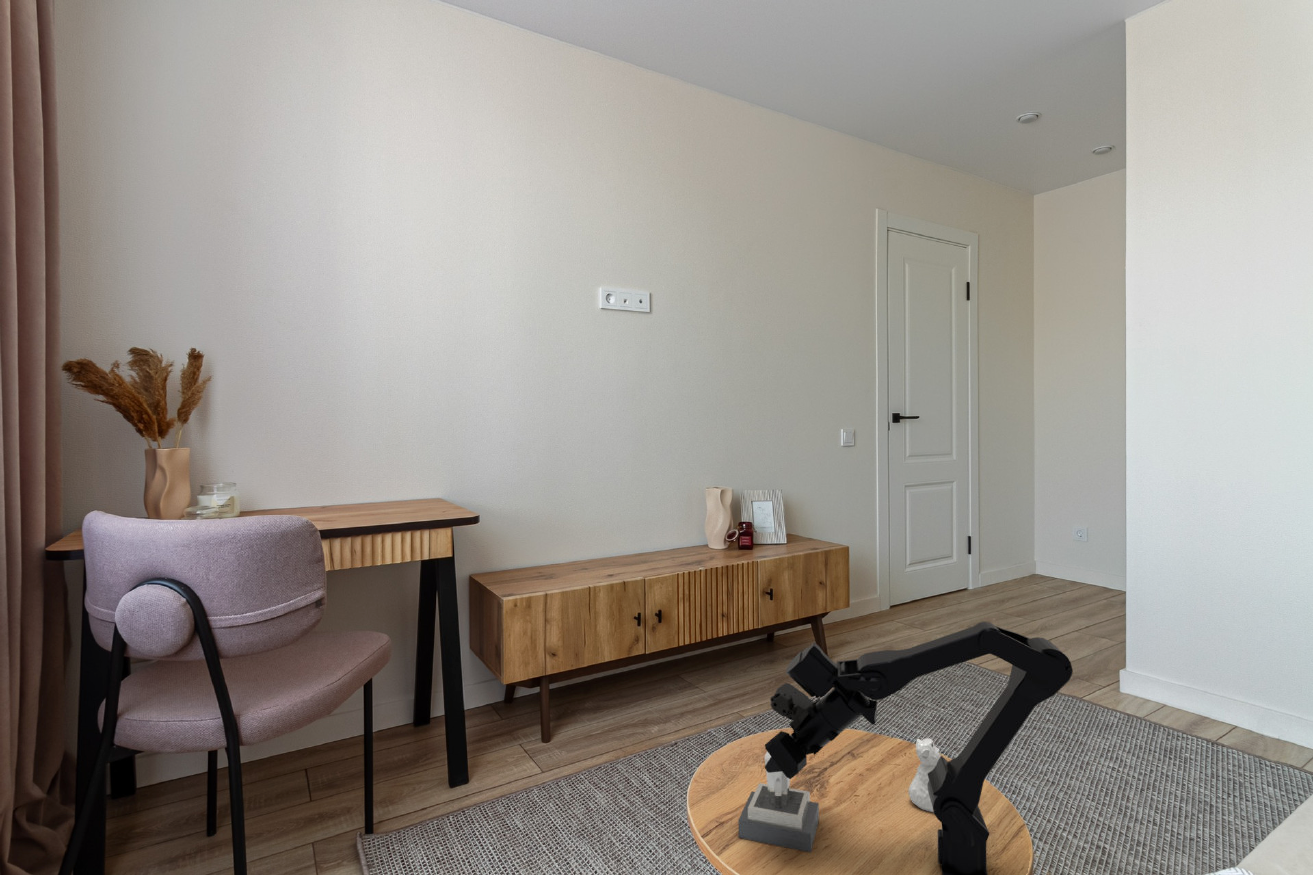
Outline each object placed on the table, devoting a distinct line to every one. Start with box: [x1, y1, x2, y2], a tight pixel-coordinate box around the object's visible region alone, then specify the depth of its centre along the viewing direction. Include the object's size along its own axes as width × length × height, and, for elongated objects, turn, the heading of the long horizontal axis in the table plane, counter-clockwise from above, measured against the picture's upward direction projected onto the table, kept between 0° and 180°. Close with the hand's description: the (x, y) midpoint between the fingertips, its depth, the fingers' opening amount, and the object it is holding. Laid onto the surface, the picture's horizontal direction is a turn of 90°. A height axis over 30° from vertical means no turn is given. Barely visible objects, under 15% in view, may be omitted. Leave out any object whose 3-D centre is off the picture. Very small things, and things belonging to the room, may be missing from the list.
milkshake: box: [764, 751, 791, 809], centre depth 119 cm, size 4×5×10 cm
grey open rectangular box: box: [738, 782, 820, 853], centre depth 119 cm, size 12×10×5 cm
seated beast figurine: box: [907, 737, 942, 814], centre depth 126 cm, size 10×9×12 cm
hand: (772, 764), depth 119 cm, fingers closed on milkshake, 4 cm apart
